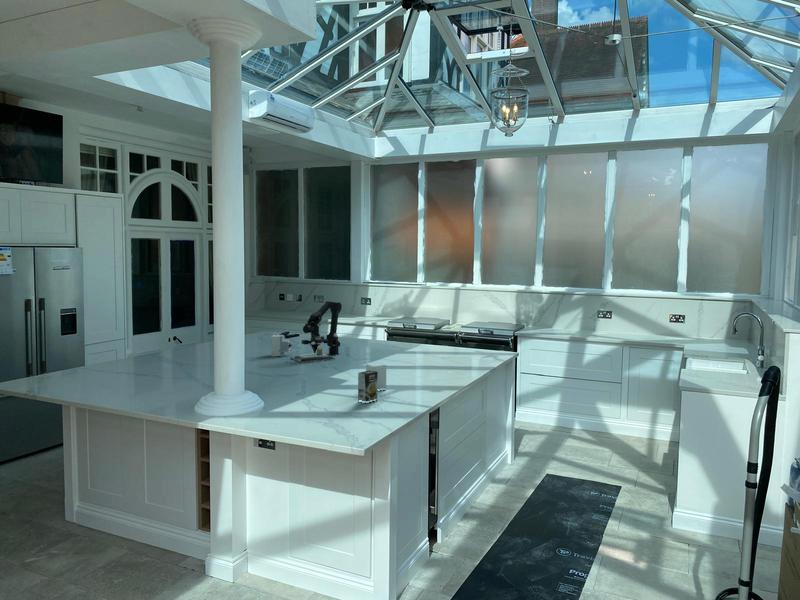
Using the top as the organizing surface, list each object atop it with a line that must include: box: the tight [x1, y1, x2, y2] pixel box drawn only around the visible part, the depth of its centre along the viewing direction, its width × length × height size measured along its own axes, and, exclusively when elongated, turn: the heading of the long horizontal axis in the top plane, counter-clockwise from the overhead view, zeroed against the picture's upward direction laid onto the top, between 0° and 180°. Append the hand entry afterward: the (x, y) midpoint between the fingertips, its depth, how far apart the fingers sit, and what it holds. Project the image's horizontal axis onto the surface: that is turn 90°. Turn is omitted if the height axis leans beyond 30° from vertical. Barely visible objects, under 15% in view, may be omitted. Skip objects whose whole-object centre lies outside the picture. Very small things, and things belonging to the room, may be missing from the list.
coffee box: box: [357, 370, 379, 401], centre depth 339 cm, size 9×6×16 cm
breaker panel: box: [290, 352, 336, 364], centre depth 458 cm, size 26×20×3 cm
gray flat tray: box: [293, 355, 332, 361], centre depth 458 cm, size 23×14×1 cm, turn 120°
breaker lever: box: [316, 346, 323, 355], centre depth 460 cm, size 3×3×6 cm
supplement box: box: [365, 362, 387, 389], centre depth 365 cm, size 9×9×15 cm
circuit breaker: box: [270, 334, 293, 357], centre depth 471 cm, size 8×14×15 cm, turn 89°
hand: (314, 353), depth 458 cm, fingers closed
